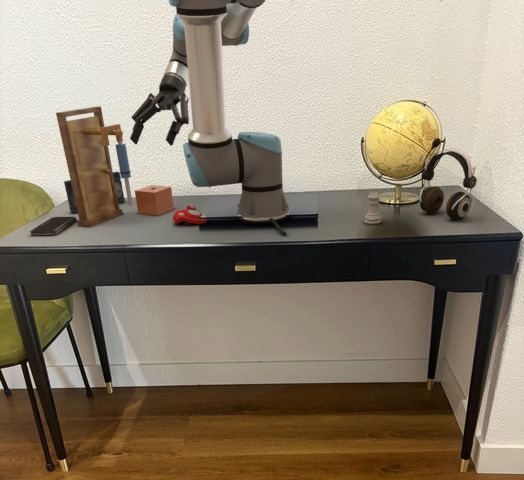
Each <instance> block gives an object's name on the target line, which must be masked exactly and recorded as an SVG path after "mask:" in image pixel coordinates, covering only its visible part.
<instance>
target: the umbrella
mask: <svg viewBox="0 0 524 480" xmlns="http://www.w3.org/2000/svg"><path fill="white" fill-rule="evenodd" d="M118 129H120V130H122V127H121V124H118V123H117V124H111V125H106V126H105V127H101V128H100V130H101V135H102V141H103V146H108V147H109V146H110V139H109V135H108V133H107V132H109V131H116V130H118ZM115 141H116V143H117V144H115V151H116V156H117V163H118V168H119V172H120V177H121V179H123V181H124V185H125V191H126V199H127V203H128V206H130V207H131V206H133V205H134V204H133V197H132V191H131V186H130V178H131V177H132V174H131V168H130V163H129V162H130V161H129V156H128V150H127V144H126V143H123V142H124V137H123V136H122V137H117V136H115Z"/></svg>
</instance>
